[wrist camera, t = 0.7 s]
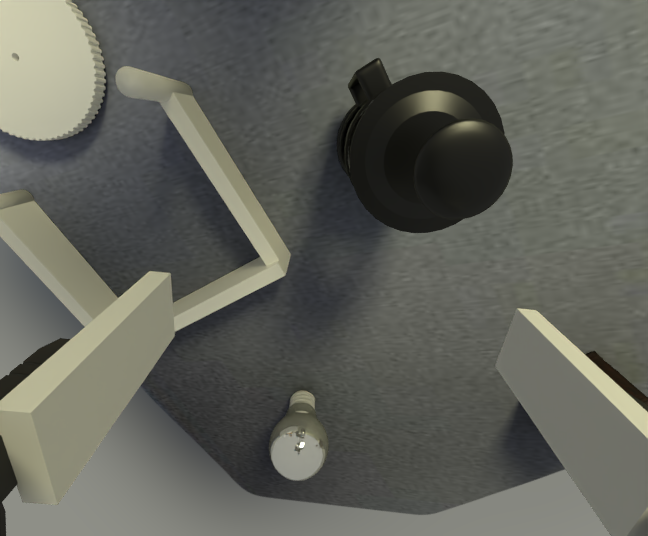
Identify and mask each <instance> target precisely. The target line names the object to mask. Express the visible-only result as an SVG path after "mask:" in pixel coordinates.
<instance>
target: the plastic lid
mask: <svg viewBox="0 0 648 536" xmlns="http://www.w3.org/2000/svg"><path fill="white" fill-rule="evenodd" d="M77 8H78V6H77V5H76V4H74V3H72V0H0V129H2V131H3V132H9V134H10V135H16V137H18V138H20V137H22V138H23V139H29V140H36V141H42V140H43V141H45V140H58V139H63V138H68V137H69V136H74V135H73V134H78V133H79V132H78V131H83V128H87V127H88V125H87V124H91V123H92V121H91V120H92V119H95V114H98V109H100V108H101V106H100V103H103V100H102V97H104V95H105V94H104V93H103V91H104V90H105V88H106V87H105V86H104V83H106V80H105V79H104V76H106V73H105V72H104V68H105V65H104V64H103V62H102V61H104V59H103V57H102V56H101V53H102V51H101V49H99V47H98V45H99V42H98V41H96V39H95V38H96V35H95V34H94V33H92V27H91V26H90V25H88V20H87V19H86V18H84V17H83V13H82V12H81V11H80V10H78V9H77Z"/></svg>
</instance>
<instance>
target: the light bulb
mask: <svg viewBox="0 0 648 536" xmlns="http://www.w3.org/2000/svg"><path fill="white" fill-rule="evenodd" d="M328 449H329V441H328V436H327V433H326V430H325V428H324V426H323V425H322V423H321V422H320V421H319V420H318V419H317V415H316V411H315V398H314V396H313V395H312V394H311V393H309V392H308V391H305V390H301V391H297V392H296V393H294V394H293V395H292V397H291V399H290V406H289V409H288V411H287V413H286V416H285V417H284V418H282V419H281V420H280V421H279V422H278V423H277V425H276V426H275V428H274V429H273V431H272V433H271V436H270V440H269V455H270V459H271V462H272V464H273V466H274V468H275V469H276V470H277V471H278V473H279V474H281V475H282V476H283V477H285V478H287V479H290V480H294V481H301V480H305V479H308V478H310V477H312V476H314V475H315V474H316V473H317V472H318V471H319V470H320V469H321V468H322V466H323V465H324V463H325V461H326V458H327V455H328Z"/></svg>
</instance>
